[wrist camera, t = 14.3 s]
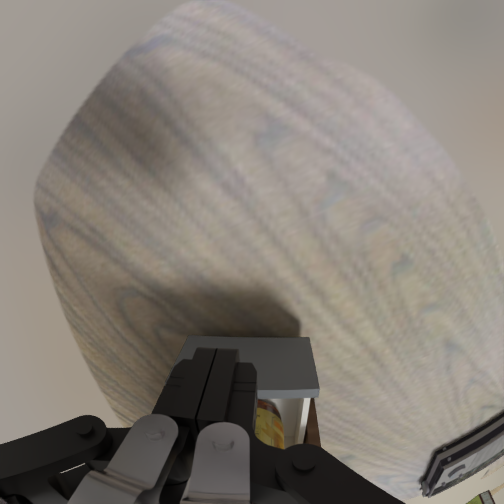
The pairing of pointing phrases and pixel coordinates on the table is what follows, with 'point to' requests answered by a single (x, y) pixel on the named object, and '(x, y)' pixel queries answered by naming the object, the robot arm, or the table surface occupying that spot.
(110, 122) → the table surface
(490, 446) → the radio
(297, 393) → the tray
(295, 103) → the table surface
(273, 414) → the sauce bottle
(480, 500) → the protein box
